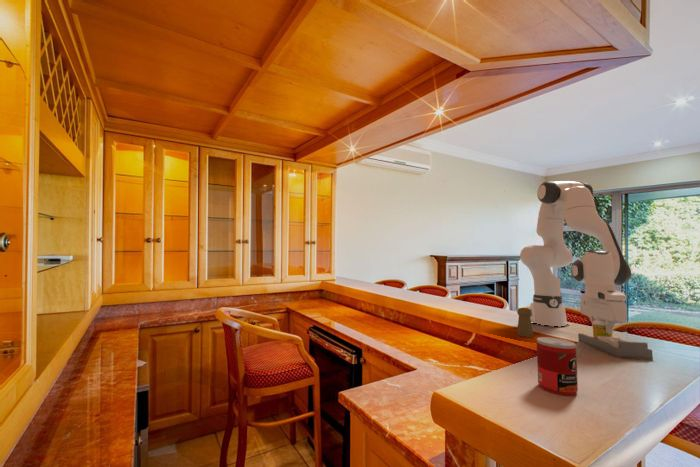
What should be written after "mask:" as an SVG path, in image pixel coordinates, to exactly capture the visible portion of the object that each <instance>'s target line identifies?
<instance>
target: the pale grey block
mask: <svg viewBox="0 0 700 467" xmlns="http://www.w3.org/2000/svg"><path fill="white" fill-rule="evenodd" d="M597 337H598V340H601V341H603V342H606V343H609V344H611V345H614V346H617V347H619V342H618V341H620V339H621V337H619V336H612V337H607V336H597Z"/></svg>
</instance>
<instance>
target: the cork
mask: <svg viewBox="0 0 700 467" xmlns="http://www.w3.org/2000/svg"><path fill="white" fill-rule="evenodd" d="M516 311H517V312H516V313H517V315H518V322H517V330H516V335H517V336H520V337H525V338H533V337H534V331H533V326H532V325H533V324H531V319H530V316H531V314H532V312H531V310H530V309H528V307H520V308H518V309H517V310H516Z"/></svg>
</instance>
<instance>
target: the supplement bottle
mask: <svg viewBox="0 0 700 467" xmlns="http://www.w3.org/2000/svg"><path fill="white" fill-rule="evenodd" d="M594 318H595V321H593V328H592V332H593V333H592V334H593V335H592V337H594V338H595V339H598V337H597V336H607V337H613V333H612V334H608V333H605V330H604V328H606V325H607V324H606V320H602V319H599V318H598V317H597V316H596V315H594Z"/></svg>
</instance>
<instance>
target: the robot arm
mask: <svg viewBox="0 0 700 467" xmlns="http://www.w3.org/2000/svg"><path fill="white" fill-rule="evenodd" d="M593 195H594V189H593V186H592V185H591V184H590V183H588V182H582V181H579V182H578V181H572V180H571V181H570V180H564V181H563V180H559V181H553V180H549V181H545V182H542V183H541V184H540V185H539V187H538V189H537V199H538V201H540V203H541V204H540V207H539V211H538V216H537V223H536V234H537V235H538V236H539V237H540V238H542V242H543V245H538V244H535V245H533V244H532V245H528V246H523V248H522V249H521V250H520V254H519V259H520V261H521V262H522V264H523V265H524V266H526V267H527V269H528V270H529V272H530V274H531V275H532V279H533V286H534V287H533V288H534V289H533V290H534V293H533V295H532V296H533V297H532V303H531V304H530V305H529V306H528V307H527V309H530V310H531V312H532V314H531V316H530V319H531V322H533V323H537V324H536V325H538V324H542V325H541V326H544V325H549V326H548V327H554V326H558V327H557V328H562V327H561V326H565V325H566V324H568V323H569V322H568V320H567V313H566V308H565V307H564V306H563V296H562V293H561V280H560V279H559V278H558V276H556V275H554V274H553V271H552V269H551V268H564V267H567V266H570V265H571V268H570V269H571V276H572V277H573V279H574V280H575V281H577V282H580V283H584V287H585V288H584V292H583V293H582V295H581V298H580V306H579V308H580V309H579V311H580V313H581V314H582V315H585V316H588V317H589V321H590V322H591V327H592V329H593V321H595V318H594V315H596V316H597V317H598V318H599V319H602V320H606V324H607V325H606V328H604V330H605V333H608V334H612V335H613V334H614V331H613V329H614V328H615V325H616V324H626V323H627V320H628V308H627V304H626V301H627V295H626V294H624V293H623V292H622V291H620V290H618V289H616V286H622V285H624V284H626V283H627V282H628V281H629V280H630V279H631V278H632V269H631V267H630V265H629V263H628V262H627V261H626V258H625V257H624V255H623V252H622V250H621V247H620V245H619V242H618V240H617V238H616V235H615V233H614V232H613V229H612V227H611V225H610V224H609V222H607V221H605V220H603V219H602V218H601V217H600V215H599V214H598V211H597V206H596V203H595V199H594V197H593ZM565 223H566V225H567V226H568V227H569V228H570V229H572V230H573V231H575V232H578V233H581V234H584V235H588V236H591V237H593V238H596V240H598V241H599V242H600V244H601V246H602V248H603V249H589V250H586V251H585V252H584V256H582V258H580V259H576V260H575V261H574V262H573V263H572V261H573V258H574V257H573V253H572V251H571V250H570V249H569V248H568V247H567V244H566V243H565V239H564V226H565V225H564V224H565ZM565 327H566V326H565Z"/></svg>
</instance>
